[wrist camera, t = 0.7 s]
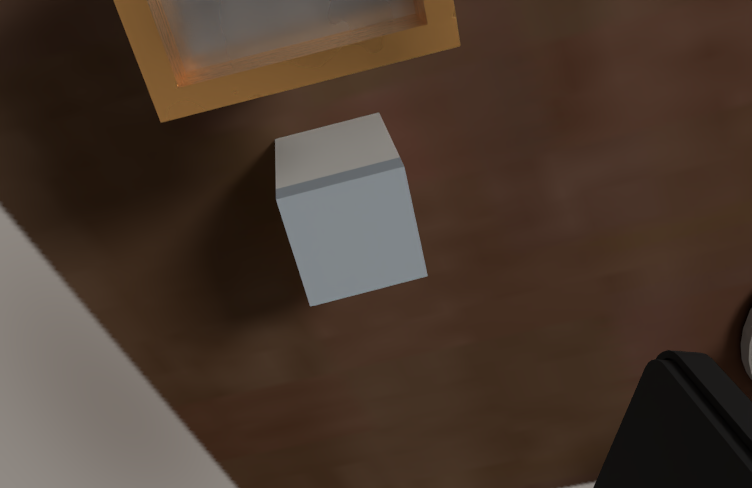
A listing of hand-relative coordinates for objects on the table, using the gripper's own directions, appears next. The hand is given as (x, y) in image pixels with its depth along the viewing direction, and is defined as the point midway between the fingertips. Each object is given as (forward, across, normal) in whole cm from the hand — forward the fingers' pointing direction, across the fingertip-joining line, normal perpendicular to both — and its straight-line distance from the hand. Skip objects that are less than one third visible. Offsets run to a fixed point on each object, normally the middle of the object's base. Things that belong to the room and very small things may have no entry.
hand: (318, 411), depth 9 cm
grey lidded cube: (+24, -3, +6) cm, 25 cm away
